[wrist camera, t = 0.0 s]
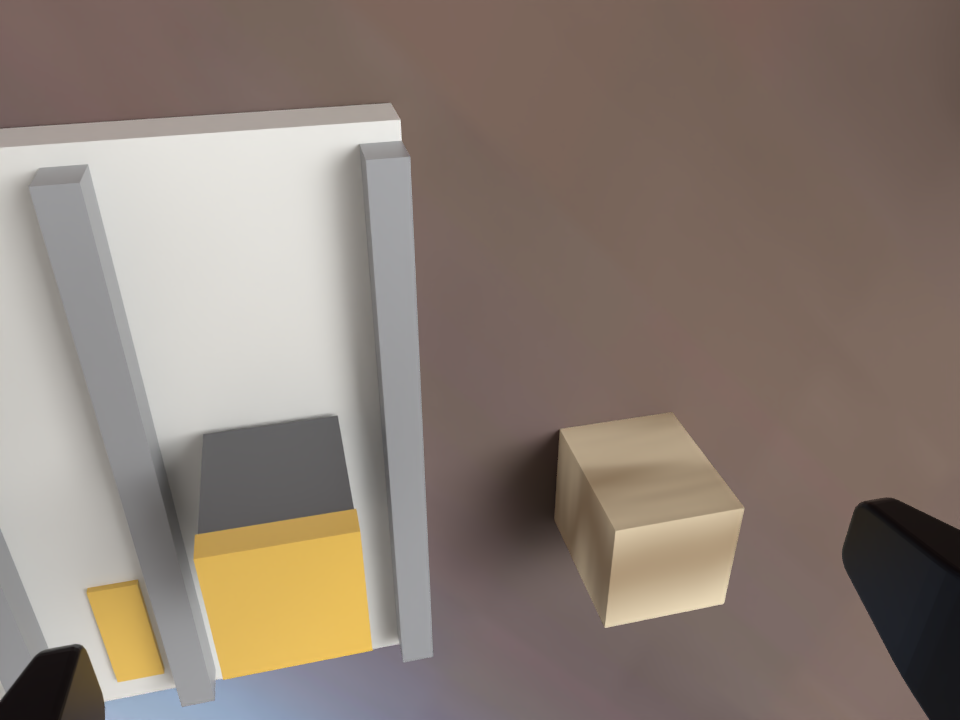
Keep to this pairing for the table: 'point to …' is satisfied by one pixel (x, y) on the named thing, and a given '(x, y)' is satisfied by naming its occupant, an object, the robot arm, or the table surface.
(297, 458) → the block
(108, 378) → the breaker panel
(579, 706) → the table surface
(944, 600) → the robot arm
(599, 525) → the block
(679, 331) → the table surface
